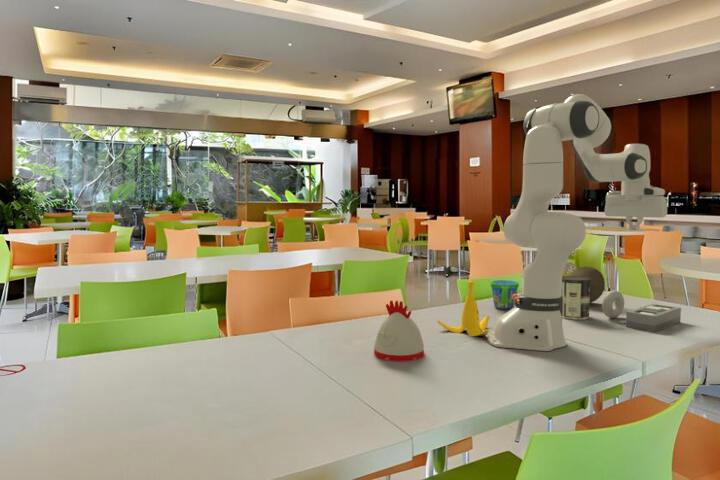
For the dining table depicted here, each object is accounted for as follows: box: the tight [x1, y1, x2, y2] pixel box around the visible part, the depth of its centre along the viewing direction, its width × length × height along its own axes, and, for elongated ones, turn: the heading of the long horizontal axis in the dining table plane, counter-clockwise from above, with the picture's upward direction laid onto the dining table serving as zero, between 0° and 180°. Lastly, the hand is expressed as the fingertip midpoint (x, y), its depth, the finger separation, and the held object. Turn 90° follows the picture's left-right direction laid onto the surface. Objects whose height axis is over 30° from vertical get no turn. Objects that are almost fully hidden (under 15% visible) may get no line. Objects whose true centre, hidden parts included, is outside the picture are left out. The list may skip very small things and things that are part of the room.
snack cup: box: [490, 279, 520, 311], centre depth 204 cm, size 16×10×10 cm
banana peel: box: [436, 280, 490, 337], centre depth 169 cm, size 17×19×17 cm
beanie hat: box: [373, 300, 425, 362], centre depth 146 cm, size 14×14×15 cm
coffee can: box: [561, 275, 590, 321], centre depth 188 cm, size 10×10×14 cm
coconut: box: [569, 266, 606, 304], centre depth 209 cm, size 14×14×15 cm
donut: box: [601, 289, 625, 319], centre depth 185 cm, size 10×4×10 cm, turn 119°
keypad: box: [625, 303, 682, 333], centre depth 176 cm, size 20×9×5 cm, turn 128°
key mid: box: [645, 306, 663, 312], centre depth 176 cm, size 4×4×2 cm
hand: (634, 229), depth 185 cm, fingers closed
